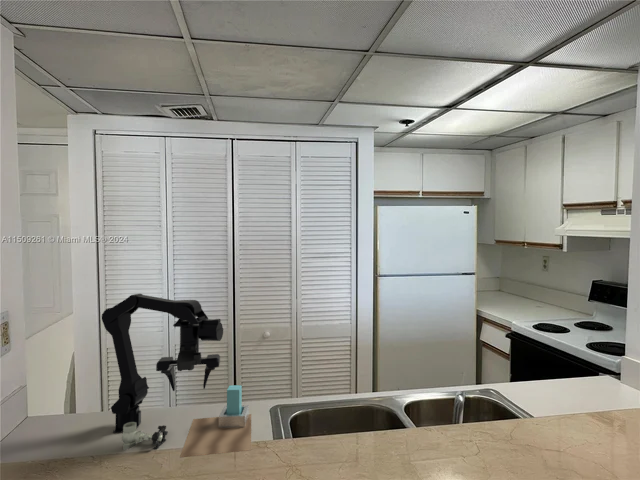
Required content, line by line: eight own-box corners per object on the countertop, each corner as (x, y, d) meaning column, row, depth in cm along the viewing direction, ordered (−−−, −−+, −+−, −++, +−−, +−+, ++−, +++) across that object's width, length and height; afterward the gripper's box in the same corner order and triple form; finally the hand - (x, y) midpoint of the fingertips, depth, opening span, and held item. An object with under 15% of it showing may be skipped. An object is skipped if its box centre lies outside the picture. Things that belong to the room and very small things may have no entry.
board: (179, 461, 99) (179, 457, 99) (193, 422, 121) (193, 419, 122) (251, 454, 102) (251, 449, 102) (251, 417, 125) (251, 414, 125)
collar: (218, 427, 115) (218, 416, 115) (224, 416, 124) (224, 405, 124) (244, 427, 116) (244, 416, 116) (248, 415, 124) (248, 405, 124)
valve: (115, 453, 104) (155, 455, 102) (115, 429, 104) (155, 431, 102) (130, 441, 110) (167, 443, 109) (130, 419, 110) (167, 420, 109)
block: (226, 424, 117) (226, 390, 118) (229, 418, 121) (229, 385, 122) (239, 424, 118) (239, 389, 118) (241, 418, 122) (241, 385, 122)
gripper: (151, 348, 107) (151, 402, 107) (217, 344, 111) (217, 397, 110) (160, 339, 118) (160, 388, 118) (220, 336, 122) (220, 383, 121)
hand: (189, 389), depth 116 cm, fingers open, 9 cm apart
